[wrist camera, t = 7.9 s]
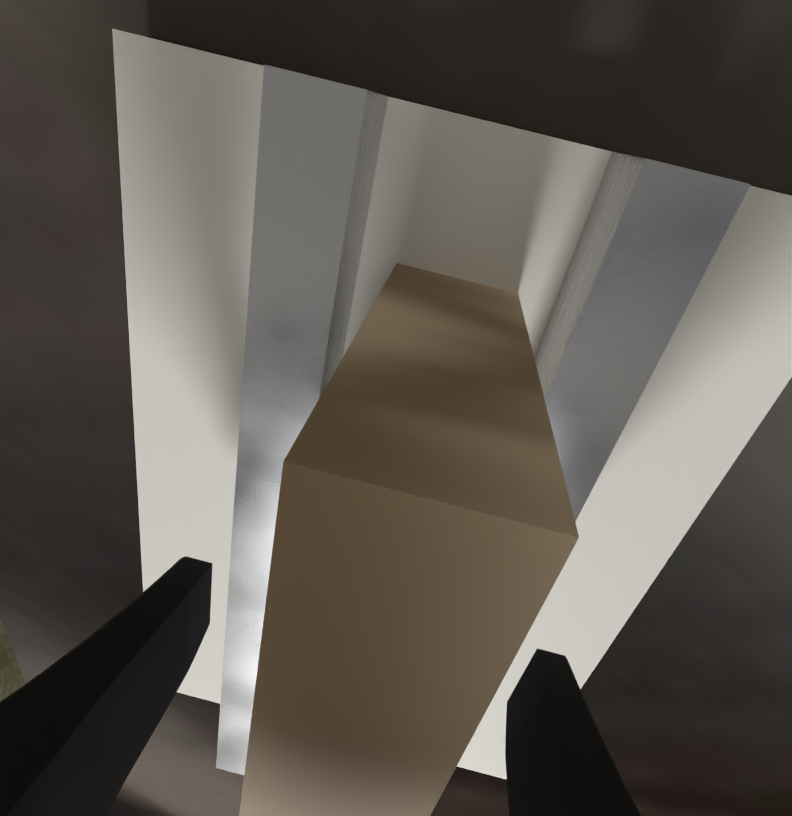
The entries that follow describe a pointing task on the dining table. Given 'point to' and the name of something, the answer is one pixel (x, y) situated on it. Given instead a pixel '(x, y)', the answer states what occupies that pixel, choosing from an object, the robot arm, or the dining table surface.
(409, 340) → the tan wooden frame
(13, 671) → the mossy green slab
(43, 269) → the dining table surface
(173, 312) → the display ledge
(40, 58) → the dining table surface
